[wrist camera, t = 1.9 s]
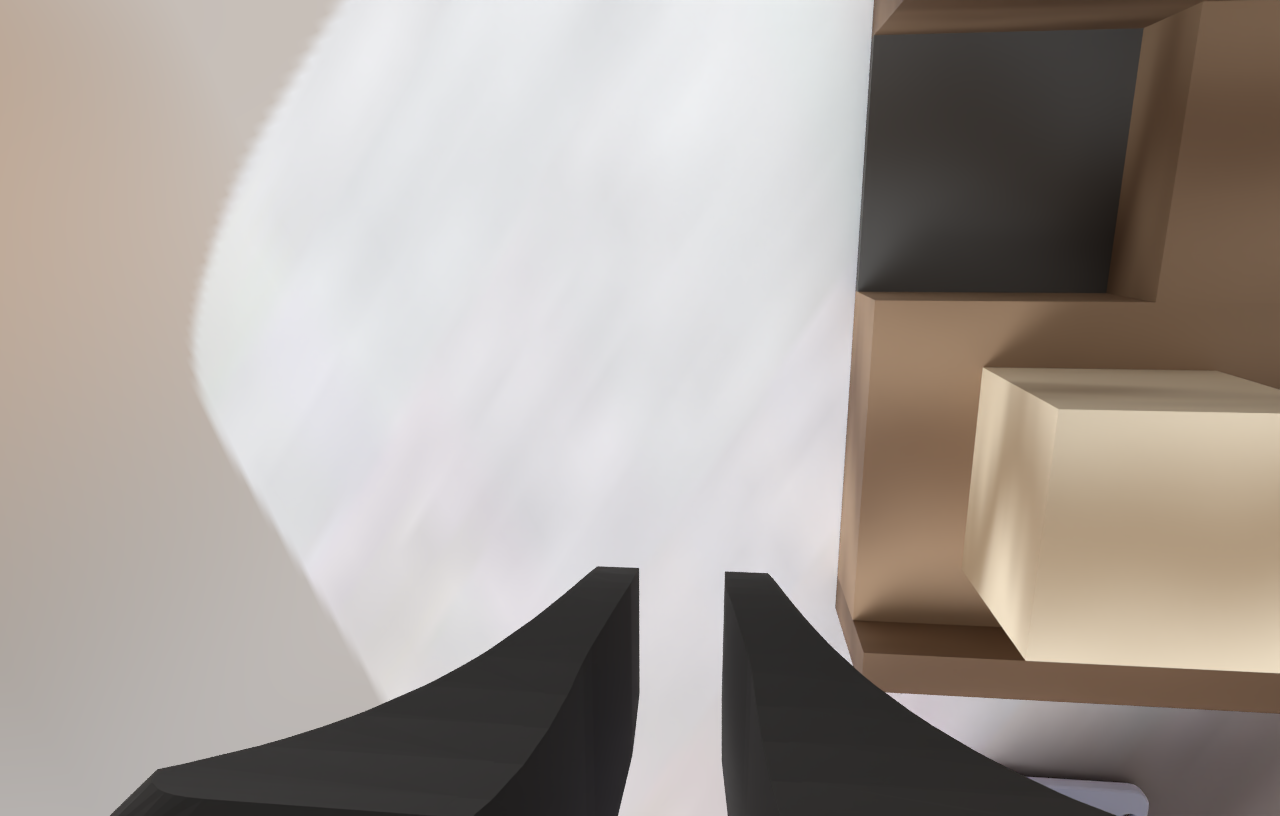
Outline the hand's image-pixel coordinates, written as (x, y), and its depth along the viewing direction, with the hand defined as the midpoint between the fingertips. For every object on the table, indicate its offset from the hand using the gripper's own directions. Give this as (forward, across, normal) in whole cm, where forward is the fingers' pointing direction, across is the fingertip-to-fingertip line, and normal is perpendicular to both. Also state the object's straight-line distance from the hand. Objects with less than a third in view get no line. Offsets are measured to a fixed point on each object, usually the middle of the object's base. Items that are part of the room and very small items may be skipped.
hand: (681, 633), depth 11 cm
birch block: (+8, -9, 0) cm, 12 cm away
